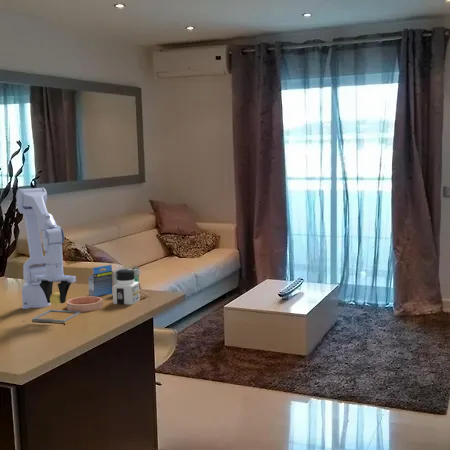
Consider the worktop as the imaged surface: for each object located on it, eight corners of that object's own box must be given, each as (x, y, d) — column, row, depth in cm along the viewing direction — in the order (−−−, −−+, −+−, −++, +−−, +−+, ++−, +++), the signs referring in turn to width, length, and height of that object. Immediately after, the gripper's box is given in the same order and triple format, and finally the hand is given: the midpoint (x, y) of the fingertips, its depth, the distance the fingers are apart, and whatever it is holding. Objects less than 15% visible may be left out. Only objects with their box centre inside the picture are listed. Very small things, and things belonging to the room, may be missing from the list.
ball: (47, 306, 208) (46, 293, 207) (54, 303, 212) (53, 290, 212) (59, 306, 207) (58, 294, 206) (65, 303, 211) (64, 291, 210)
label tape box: (107, 293, 246) (106, 263, 245) (113, 294, 243) (112, 264, 242) (88, 297, 240) (87, 266, 238) (94, 298, 237) (93, 267, 236)
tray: (32, 322, 206) (32, 318, 205) (50, 313, 217) (50, 309, 217) (64, 324, 203) (64, 320, 203) (81, 314, 214) (81, 311, 214)
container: (132, 306, 224) (131, 271, 222) (113, 306, 225) (111, 271, 224) (139, 301, 231) (138, 267, 230) (120, 300, 233) (119, 267, 231)
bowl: (60, 313, 217) (60, 304, 217) (77, 304, 229) (76, 295, 229) (93, 314, 214) (93, 305, 214) (108, 305, 226) (108, 297, 226)
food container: (127, 298, 237) (126, 272, 236) (115, 296, 240) (114, 271, 239) (147, 291, 247) (146, 267, 246) (136, 290, 251) (135, 266, 249)
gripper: (28, 265, 205) (31, 304, 207) (68, 266, 202) (70, 306, 204) (39, 261, 212) (42, 299, 214) (78, 262, 209) (79, 300, 211)
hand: (56, 302), depth 209 cm, fingers closed on ball, 4 cm apart
